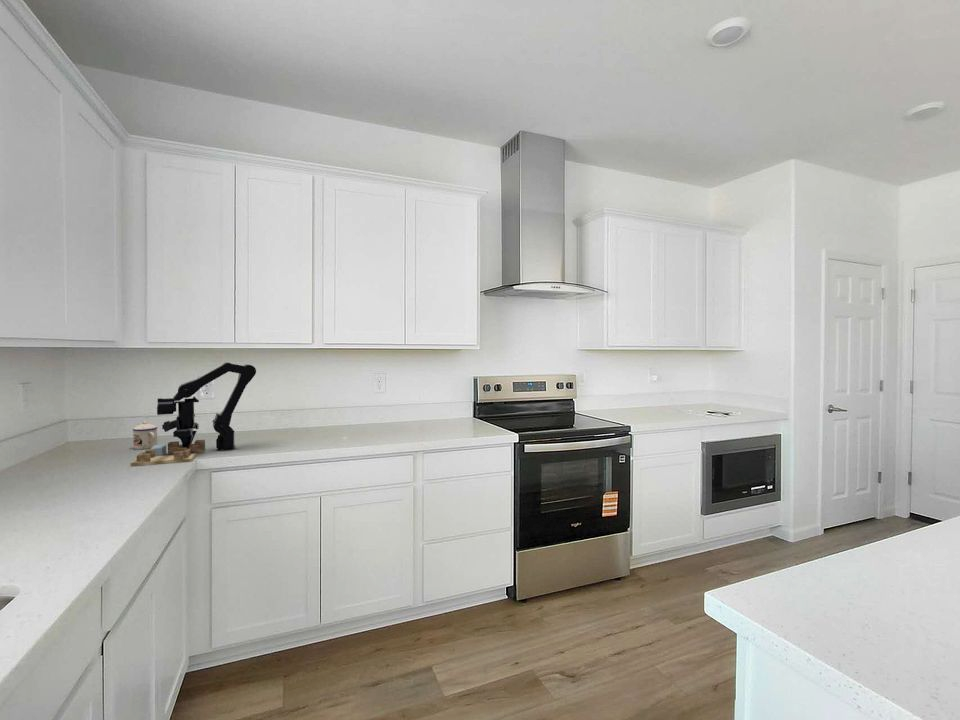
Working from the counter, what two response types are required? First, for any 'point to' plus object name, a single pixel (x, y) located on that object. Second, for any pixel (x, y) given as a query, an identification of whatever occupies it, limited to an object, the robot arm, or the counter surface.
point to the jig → (163, 457)
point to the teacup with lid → (145, 436)
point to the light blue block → (159, 450)
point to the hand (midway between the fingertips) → (186, 449)
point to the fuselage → (194, 448)
